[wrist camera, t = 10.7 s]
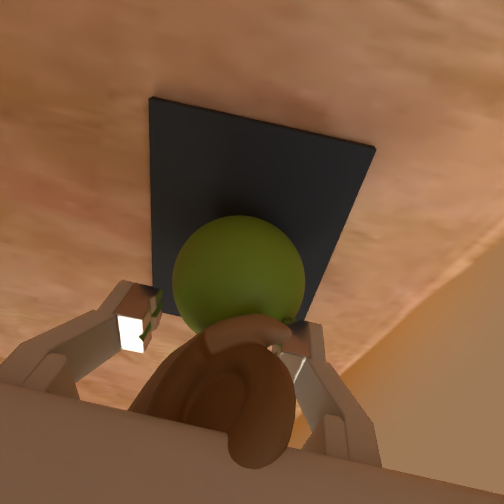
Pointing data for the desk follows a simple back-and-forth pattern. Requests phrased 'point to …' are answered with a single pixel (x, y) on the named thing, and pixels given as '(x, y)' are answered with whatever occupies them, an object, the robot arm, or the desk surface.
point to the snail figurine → (232, 338)
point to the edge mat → (247, 184)
